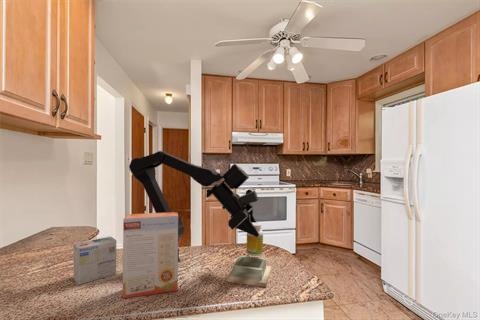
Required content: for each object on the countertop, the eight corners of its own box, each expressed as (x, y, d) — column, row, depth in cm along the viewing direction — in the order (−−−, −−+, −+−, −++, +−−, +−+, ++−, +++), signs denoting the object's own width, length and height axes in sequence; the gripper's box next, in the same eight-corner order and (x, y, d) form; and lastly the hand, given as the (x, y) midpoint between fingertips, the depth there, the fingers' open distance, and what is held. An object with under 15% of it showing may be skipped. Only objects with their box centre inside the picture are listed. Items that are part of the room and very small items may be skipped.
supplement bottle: (259, 257, 77) (259, 227, 77) (243, 254, 79) (244, 224, 79) (264, 251, 82) (265, 223, 82) (250, 249, 84) (250, 221, 84)
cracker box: (177, 281, 72) (178, 210, 72) (177, 292, 66) (178, 215, 66) (125, 287, 68) (127, 213, 68) (121, 299, 62) (123, 217, 63)
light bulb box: (110, 267, 81) (110, 235, 81) (117, 274, 76) (117, 239, 76) (72, 277, 74) (72, 242, 74) (76, 286, 69) (77, 247, 69)
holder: (226, 281, 72) (226, 267, 72) (236, 264, 84) (237, 253, 84) (266, 286, 69) (266, 272, 69) (271, 269, 81) (271, 257, 81)
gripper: (240, 184, 72) (276, 224, 70) (248, 180, 90) (277, 211, 89) (213, 209, 73) (248, 249, 71) (226, 200, 92) (255, 231, 90)
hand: (259, 233), depth 80 cm, fingers closed on supplement bottle, 5 cm apart
